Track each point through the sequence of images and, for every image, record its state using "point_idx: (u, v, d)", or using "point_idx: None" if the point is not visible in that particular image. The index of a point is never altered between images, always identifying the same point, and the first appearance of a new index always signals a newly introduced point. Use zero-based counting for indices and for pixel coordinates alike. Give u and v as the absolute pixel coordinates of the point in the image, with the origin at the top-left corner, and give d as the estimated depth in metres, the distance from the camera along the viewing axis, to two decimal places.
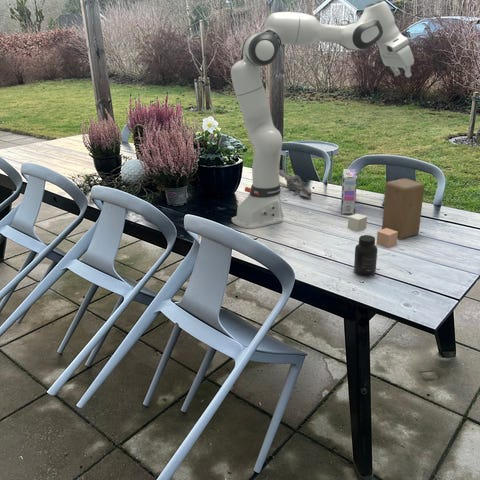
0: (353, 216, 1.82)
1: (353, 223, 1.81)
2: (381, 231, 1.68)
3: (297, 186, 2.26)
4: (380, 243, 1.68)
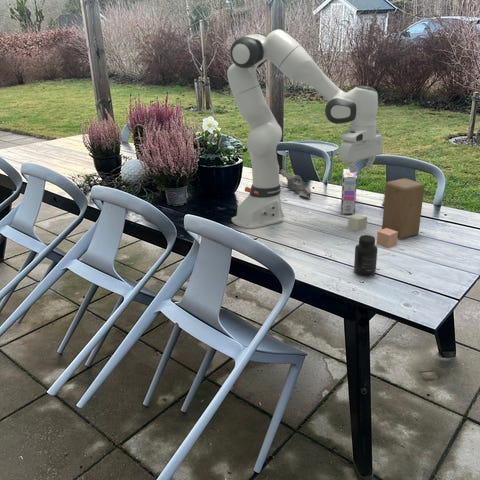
0: (353, 216, 1.82)
1: (353, 223, 1.81)
2: (381, 231, 1.68)
3: (297, 186, 2.26)
4: (380, 243, 1.68)
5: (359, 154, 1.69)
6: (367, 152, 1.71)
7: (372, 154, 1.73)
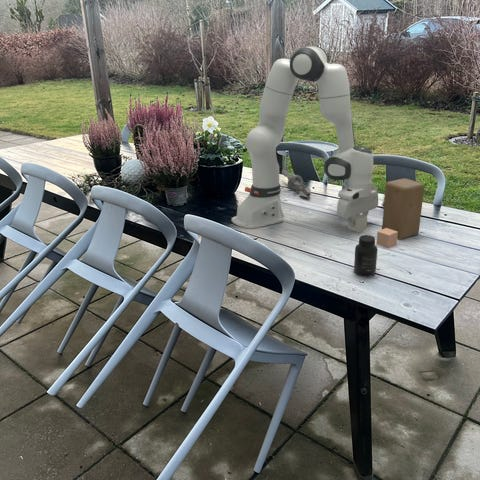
0: None
1: None
2: (381, 231, 1.68)
3: (298, 186, 2.26)
4: (380, 243, 1.68)
5: (355, 210, 1.77)
6: (363, 207, 1.80)
7: (368, 208, 1.82)
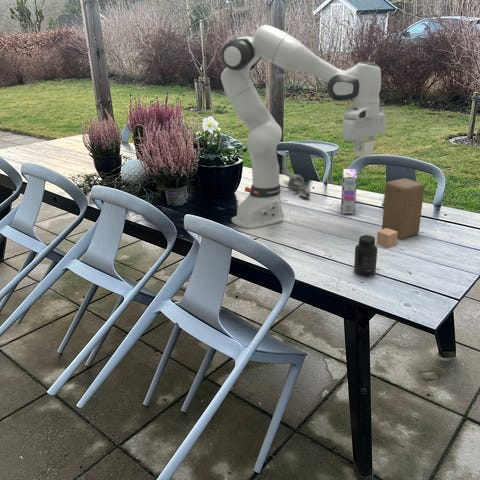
0: None
1: None
2: (381, 231, 1.68)
3: (298, 186, 2.26)
4: (380, 243, 1.68)
5: (362, 132, 1.66)
6: (370, 130, 1.68)
7: (375, 132, 1.70)
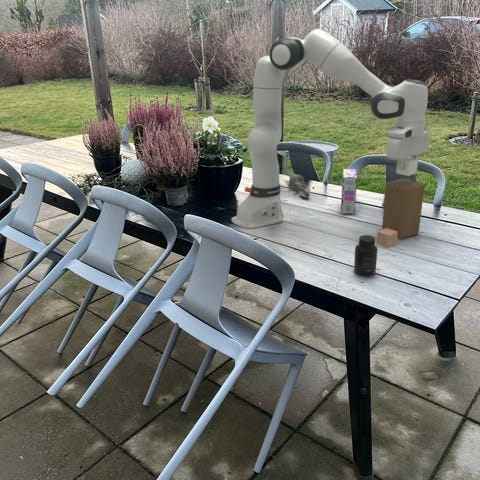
0: None
1: None
2: (381, 231, 1.68)
3: (298, 186, 2.26)
4: (380, 243, 1.68)
5: (406, 151, 1.62)
6: (414, 149, 1.64)
7: (419, 151, 1.66)
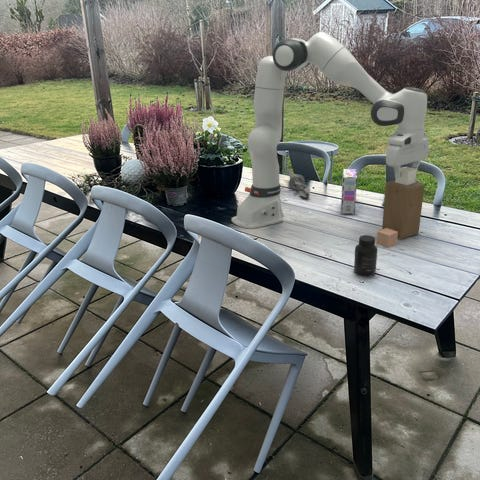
0: (402, 169, 1.68)
1: (402, 176, 1.67)
2: (381, 231, 1.68)
3: (298, 186, 2.26)
4: (380, 243, 1.68)
5: (406, 158, 1.63)
6: (413, 156, 1.65)
7: (418, 157, 1.67)
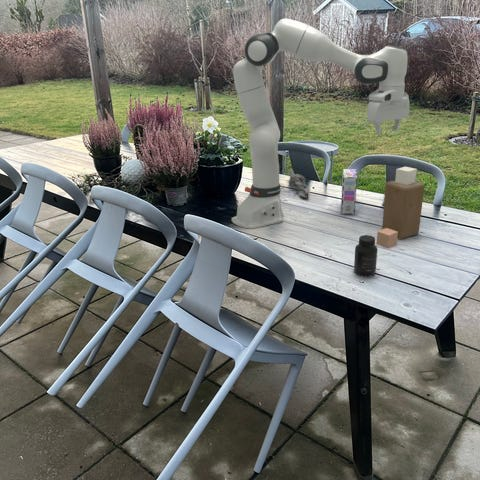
0: (401, 168, 1.68)
1: (402, 176, 1.67)
2: (381, 231, 1.68)
3: (299, 186, 2.26)
4: (380, 243, 1.68)
5: (386, 115, 1.69)
6: (394, 114, 1.71)
7: (398, 116, 1.73)
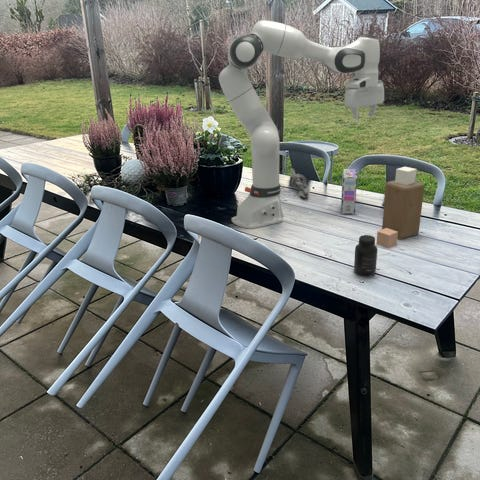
0: (401, 169, 1.68)
1: (402, 176, 1.67)
2: (381, 231, 1.68)
3: (299, 186, 2.27)
4: (380, 243, 1.68)
5: (362, 101, 1.82)
6: (369, 100, 1.84)
7: (374, 102, 1.86)
